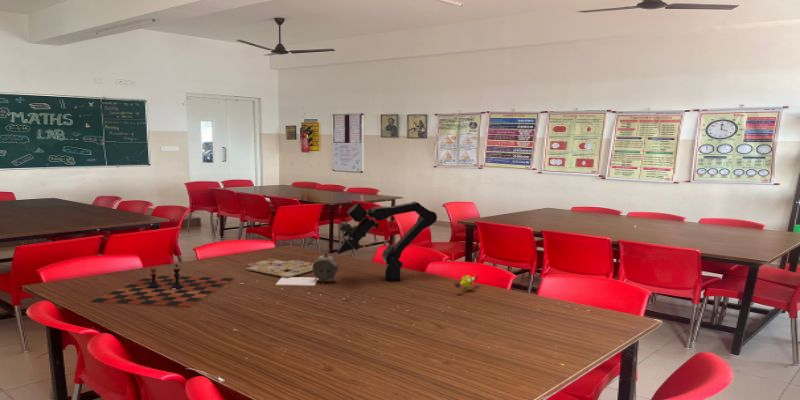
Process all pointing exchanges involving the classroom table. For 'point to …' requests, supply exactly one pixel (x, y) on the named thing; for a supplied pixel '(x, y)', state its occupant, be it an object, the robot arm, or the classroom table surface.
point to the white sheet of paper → (297, 281)
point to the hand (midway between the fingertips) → (337, 253)
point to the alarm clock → (325, 267)
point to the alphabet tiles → (281, 267)
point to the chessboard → (165, 290)
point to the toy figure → (466, 281)
